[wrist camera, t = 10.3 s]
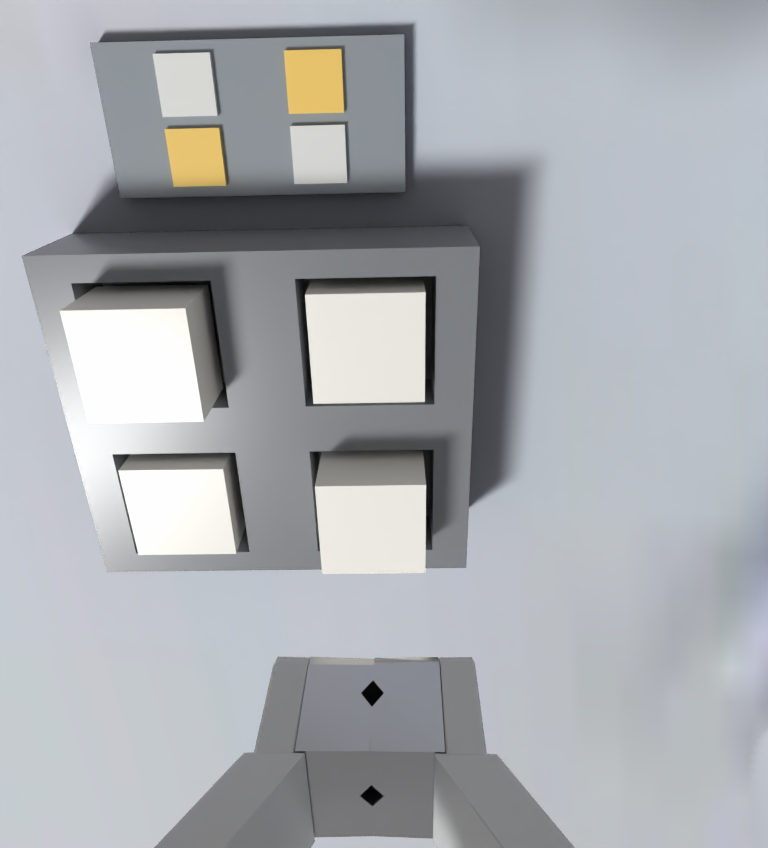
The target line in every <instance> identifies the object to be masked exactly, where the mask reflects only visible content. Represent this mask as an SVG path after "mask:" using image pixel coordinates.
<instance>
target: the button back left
mask: <svg viewBox="0 0 768 848" xmlns="http://www.w3.org/2000/svg"><path fill="white" fill-rule="evenodd" d="M119 475H120V480H121V484H122V488H123V492H124V496H125V500H126V505H127V509H128V513H129V517H130V521H131V525H132V530H133V534H134V538H135V542H136V546H137V551H138V555H185V554H236V553H237V550H238V547H239V544H240V541H241V538H242V535H243V532H244V529H245V526H246V524H245V517H244V510H243V503H242V496H241V489H240V482H239V475H238V468H237V461H236V454H235V453H171V454H130V455H129V457H128V458H127V459H126V461H125V462H124V464H123V465H122V466H121V468H120V469H119Z"/></svg>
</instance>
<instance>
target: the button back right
mask: <svg viewBox="0 0 768 848" xmlns="http://www.w3.org/2000/svg"><path fill="white" fill-rule="evenodd" d="M315 494H316V506H317V518H318V531H319V543H320V555H321V567H322V574H371V573H425V561H426V478H425V467H424V456H423V450H375V451H322V452H321V457H320V463H319V468H318V473H317V478H316V483H315Z"/></svg>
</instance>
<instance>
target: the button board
mask: <svg viewBox="0 0 768 848" xmlns="http://www.w3.org/2000/svg"><path fill="white" fill-rule="evenodd" d="M22 259H23V263H24V266H25V270H26V274H27V277H28V281H29V285H30V288H31V292H32V296H33V299H34V303H35V307H36V311H37V314H38V318H39V322H40V325H41V329H42V333H43V336H44V340H45V344H46V348H47V351H48V355H49V359H50V362H51V366H52V370H53V373H54V377H55V381H56V384H57V388H58V392H59V396H60V399H61V403H62V407H63V410H64V414H65V418H66V421H67V425H68V429H69V432H70V436H71V440H72V444H73V447H74V451H75V455H76V458H77V462H78V466H79V469H80V473H81V477H82V480H83V484H84V488H85V492H86V495H87V499H88V503H89V506H90V510H91V514H92V517H93V521H94V525H95V528H96V532H97V536H98V540H99V543H100V547H101V551H102V554H103V558H104V562H105V565H106V569H107V572H133V571H222V570H311V569H322V567H321V555H320V543H319V531H318V518H317V506H316V494H315V483H316V478H317V473H318V468H319V463H320V457H321V452H322V451H375V450H423V456H424V467H425V478H426V561H425V568H466V559H467V536H468V513H469V490H470V467H471V444H472V421H473V398H474V375H475V352H476V329H477V306H478V283H479V259H480V246H479V244H478V242H477V240H476V239H475V237H474V235H473V233H472V232H471V230H470V228H469V226H468V225H466V226H419V227H372V228H325V229H278V230H231V231H183V232H136V233H89V234H70V235H68V236H66V237H63V238H61V239H59V240H57V241H54V242H52V243H50V244H48V245H45V246H43V247H41V248H39V249H36V250H34V251H32V252H30V253H27V254H25V255H23V256H22ZM419 276H423V280H424V286H425V292H426V302H425V402H395V403H333V404H313V391H312V379H311V366H310V353H309V341H308V328H307V315H306V302H305V293H306V291H307V289H308V286H309V284H310V281H311V279H318V278H368V277H419ZM161 285H208V288H209V295H210V302H211V309H212V316H213V322H214V329H215V336H216V343H217V350H218V357H219V364H220V370H221V377H222V384H223V389H222V391H221V393H220V395H219V396H218V398H217V400H216V402H215V403H214V405H213V407H212V409H211V410H210V412H209V414H208V416H207V417H206V419H205V421H204V422H163V423H99V424H88V421H87V417H86V413H85V409H84V405H83V401H82V397H81V393H80V389H79V385H78V382H77V378H76V374H75V370H74V366H73V362H72V358H71V354H70V350H69V346H68V342H67V338H66V334H65V330H64V327H63V323H62V319H61V315H60V310H61V309H63V308H64V307H66V306H67V305H69V304H71V303H72V302H74V301H75V300H77V299H78V298H80V297H81V296H83V295H84V294H86V293H87V292H89V291H90V290H92V289H93V288H95V287H110V286H161ZM171 453H235V454H236V461H237V468H238V475H239V482H240V489H241V496H242V503H243V510H244V517H245V524H246V526H245V529H244V532H243V535H242V538H241V541H240V544H239V547H238V550H237V553H236V554H185V555H138V551H137V546H136V542H135V538H134V534H133V530H132V525H131V521H130V517H129V513H128V509H127V505H126V500H125V496H124V492H123V488H122V484H121V480H120V475H119V469H120V468H121V466H122V465H123V464H124V462H125V461H126V459H127V458H128V457H129V455H130V454H171Z"/></svg>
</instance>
